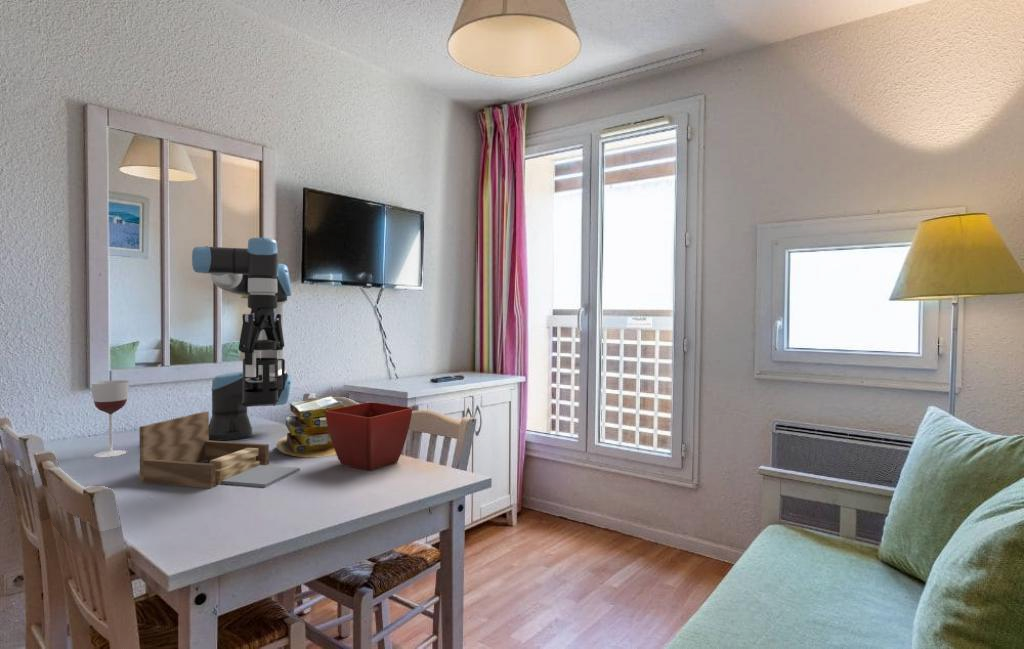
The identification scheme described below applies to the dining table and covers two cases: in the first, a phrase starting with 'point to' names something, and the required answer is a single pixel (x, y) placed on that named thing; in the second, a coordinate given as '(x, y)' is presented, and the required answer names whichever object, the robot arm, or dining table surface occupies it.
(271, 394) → the french press
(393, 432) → the plant pot
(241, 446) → the wooden box
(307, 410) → the stacked boxes on plate
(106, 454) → the wineglass
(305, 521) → the dining table surface
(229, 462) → the offcut stack
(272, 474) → the slate mat
